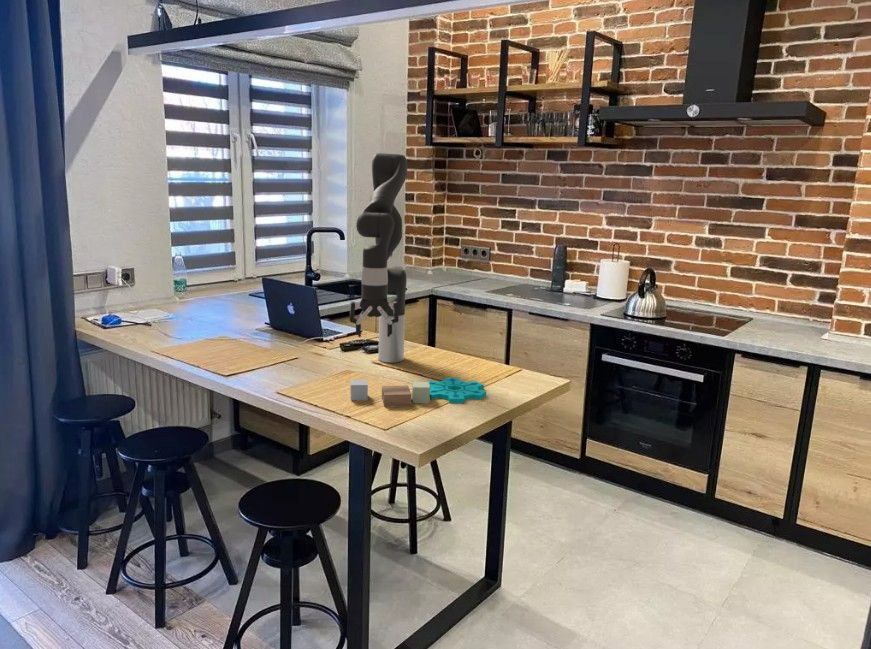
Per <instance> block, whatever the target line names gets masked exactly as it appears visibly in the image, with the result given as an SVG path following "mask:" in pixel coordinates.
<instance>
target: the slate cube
mask: <svg viewBox="0 0 871 649" xmlns="http://www.w3.org/2000/svg"><path fill="white" fill-rule="evenodd" d="M368 386H369V383H368V379H350V393H349V394H350V395H351V396H350V401H351V400H367V401H368V400H369V399H368V397H369V396H368V395H369V394H368V392H369V390H368V388H369V387H368Z"/></svg>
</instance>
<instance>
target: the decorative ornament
mask: <svg viewBox="0 0 871 649" xmlns="http://www.w3.org/2000/svg"><path fill="white" fill-rule="evenodd" d="M427 382H429V385H430V400H434V399H435V400H436V399H443V400H447V401H448V403H449V404H465V400H471V399H473V400H479V401H481V400H482V399H484V398H485V397H487V391H486V390H484V389H485V385H484V384H483V383H481V382H479V381H477V380H474V381H464V380H460V377H444V380H440V381H435V380H428V381H427Z"/></svg>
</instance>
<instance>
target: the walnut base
mask: <svg viewBox="0 0 871 649" xmlns="http://www.w3.org/2000/svg"><path fill="white" fill-rule="evenodd" d="M382 400H383V401H382ZM381 401H382V405H383V404H384V405H383V407H384V406H397V407H412V391H411V390H410V387H409V385H408V384H407V385H405V384H403V385H382V386H381Z"/></svg>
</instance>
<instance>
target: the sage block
mask: <svg viewBox="0 0 871 649" xmlns="http://www.w3.org/2000/svg"><path fill="white" fill-rule="evenodd" d="M411 383H412V387H411V388H412V389H411V402H412V404H429V403H430V400H431V399H430V385H429V382H428V381H412V382H411Z"/></svg>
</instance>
